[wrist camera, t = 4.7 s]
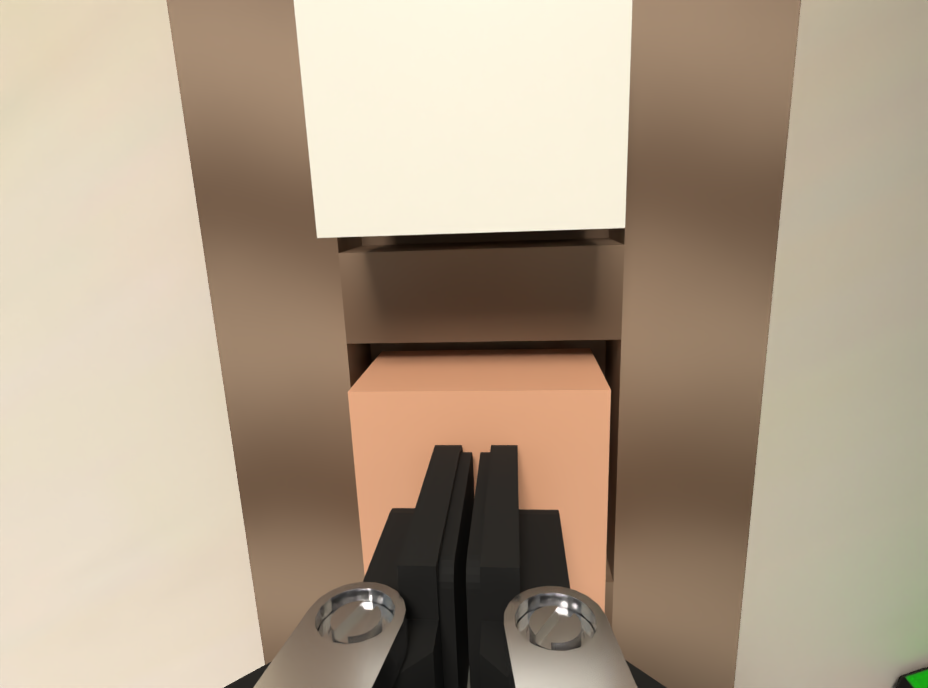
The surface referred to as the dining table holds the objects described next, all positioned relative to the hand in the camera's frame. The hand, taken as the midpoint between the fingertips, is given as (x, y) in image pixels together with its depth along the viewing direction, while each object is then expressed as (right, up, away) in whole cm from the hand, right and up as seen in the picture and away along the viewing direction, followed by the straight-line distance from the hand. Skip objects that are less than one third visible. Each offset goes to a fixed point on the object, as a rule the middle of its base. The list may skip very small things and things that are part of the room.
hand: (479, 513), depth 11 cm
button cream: (0, +8, 0) cm, 8 cm away
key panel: (0, +1, +4) cm, 4 cm away
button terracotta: (0, +1, +3) cm, 3 cm away
